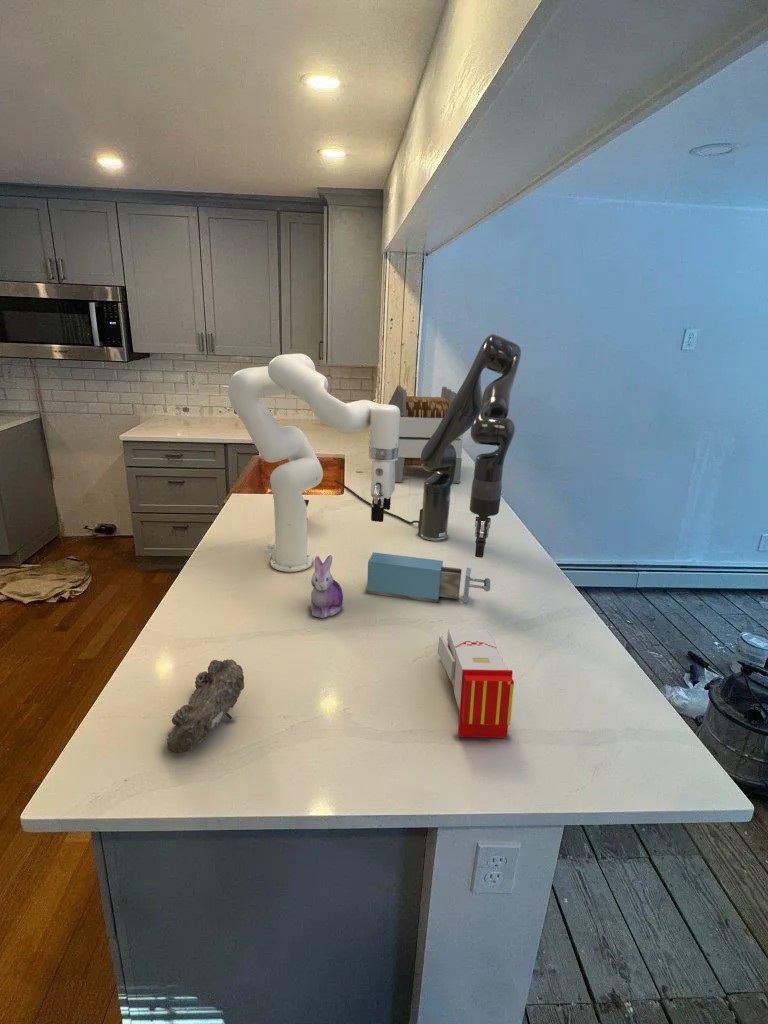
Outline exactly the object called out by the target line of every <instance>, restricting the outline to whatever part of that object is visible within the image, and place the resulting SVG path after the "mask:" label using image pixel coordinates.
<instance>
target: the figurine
mask: <svg viewBox="0 0 768 1024" xmlns="http://www.w3.org/2000/svg"><path fill="white" fill-rule="evenodd" d="M332 563H333V555H331V554H330V555H328V556H326V558H325V560H324V562H322V560H321V558H320V556H318V555H316V556H315V557H314V572H313V574H312V575H311V581H310V582H311V585H312V587H313V589H312V590H311V593H310V600H311V606H310V609H311V615H312V616H313V617H316V618H327V617H331V616H335V615H336V614H338V613H339V612H340V611H341V610H342V608H343V601H344V594H343V590H342V587H341V585H340V583H339V582H338V581H336V580H335V579H334V576H333V574H332V573H331V568H332Z"/></svg>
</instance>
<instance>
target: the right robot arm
mask: <svg viewBox="0 0 768 1024" xmlns="http://www.w3.org/2000/svg"><path fill="white" fill-rule="evenodd" d="M521 356H522V348H521V346H520V345H519V344H517V343H516V342H514V341H511V340H509V339H506V338H505V337H502V336H499V335H497V334H493V333H491V334H489V335H487V336H486V338H484V340H483V341H482V344H481V346H480V348H479V350H478V351H477V354H476V355H475V358H474V360H473V362H472V363H471V366H470V368H469V370H468V372H467V375H466V377H465V378H464V380H463V382H462V384H461V385H460V387H459V389H458V390H457V392H456V396H455V397H454V399H453V401H452V403H451V404H450V406H449V408H448V410H447V412H446V414H445V416H444V418H443V419H442V421H441V423H440V424H439V426H438V428H437V429H436V431H435V432H434V434H433V435H432V437H431V438H430V439H429V441H428V442H427V443H426V445H425V446H424V448H423V450H422V453H421V457H420V462H421V466H420V467H422V469H423V470H424V471H426V472H430V473H431V472H432V473H433V472H434V473H433V474H431V476H429V477H427V478H426V479H425V480H424V482H423V493H422V496H423V497H422V506H421V508H420V509H419V516H418V520H412V521H409V520H407V519H404V518H403V517H401V516H399V515H396V514H394V513H392V512H389V511H388V510H384V514H387V515H389V516H392V517H395V518H397V519H399V520H401V521H402V522H404V523H407V524H408V525H409V524H410V525H413V524H417V528H418V530H417V535H418V536H420V538H421V539H424V540H426V541H432V542H440V541H444V540H446V539H447V538H448V525H449V517H450V516H449V514H450V504H451V494H452V493H451V491H452V486H453V484H454V483H453V481H454V475H455V468H456V459H457V457H456V450H455V448H454V446H453V445H452V444H451V443H452V442H453V441H454V440H456V439H457V438H458V437H460V436H461V435H462V434H463V435H464V434H465V433H466V432H467V431H468V430H470V438H471V440H472V441H473V442H474V443H475V444H476V445H481V446H493V447H497V448H496V449H495V450H493V451H490V452H485V453H480V454H478V455H477V456H476V457H475V462H474V472H473V479H472V483H471V489H470V490H471V492H470V501H469V511H470V512H471V513H472V514H474V515H477V516H475V521H474V527H475V530H474V536H475V551H474V557H475V558H481V559H483V558H484V555H485V546H486V545H487V539H488V538H489V531H490V528H491V524H492V522H491V520H492V517H494V516H496V515H498V514H499V512H500V505H501V497H502V487H503V484H502V482H503V481H502V480H503V479H502V478H503V472H504V471H503V470H504V465H505V460H506V456H507V453H508V450H509V449H510V446H511V444H512V442H513V439H514V437H515V434H516V425H515V423H514V421H513V420H512V419H511V418H508V416H509V413H510V404H511V403H510V402H511V394H512V390H513V386H514V382H515V379H516V376H517V372H518V369H519V365H520V361H521V358H522V357H521ZM485 369H486V370H489V371H491V372H494V373H496V374H499V375H501V376H499V377H498V378H496V379H494V380H493V381H491V382H489V384H488V385H487V386H486V387H485V389H484V391H483V390H482V373H483V371H484V370H485ZM333 482H334V483H337V484H338V485H340V486H342V488H345V489H346V490H347V491H349V492H350V493H352V494H353V495H354V496H355V497H357V498H358V499H360V500H361V501H363V502H364V503H366V504H367V505H369V506H371V507H372V502H371V503H370V502H369V501H367V500H366V499H364V498H363V497H361V496H360V495H359V494H357V493H356V492H354V491H353V490H352V489H351V488H349V487H348V486H346V485H344V484H343V483H342V482H340V481H338V480H336V479H334V480H333Z"/></svg>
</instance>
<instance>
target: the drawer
mask: <svg viewBox="0 0 768 1024" xmlns="http://www.w3.org/2000/svg"><path fill="white" fill-rule="evenodd" d="M462 571H463V570H462V568H459V567H450V566H442V569H441V575H440V586H439V597H441V598H442V597H443V598H449V599H457V600H459V598H460V597H459V596H460V590H461V581H462ZM471 573H472V568H471V567H466V571H465V579H464V587H463V588H464V589H463V597H462V598H463V599H462V602H463V603H468V601H469V595H470V594H469V593H470V588H473V589H481V590H483V591H484V592H486V593H487V592H490V591H491V579H490V578H487V577H486V578H484V579H479V578H474V577H473V578H472V577H471ZM470 582H475V583H482V584H483V585H477V584H471V583H470Z"/></svg>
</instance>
